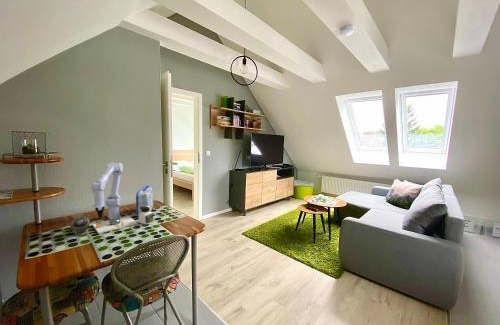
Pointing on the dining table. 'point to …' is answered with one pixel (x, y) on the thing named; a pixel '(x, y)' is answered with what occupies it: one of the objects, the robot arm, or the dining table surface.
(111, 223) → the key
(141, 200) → the lunch box
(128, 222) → the board
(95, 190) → the robot arm
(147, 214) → the medicine bottle
